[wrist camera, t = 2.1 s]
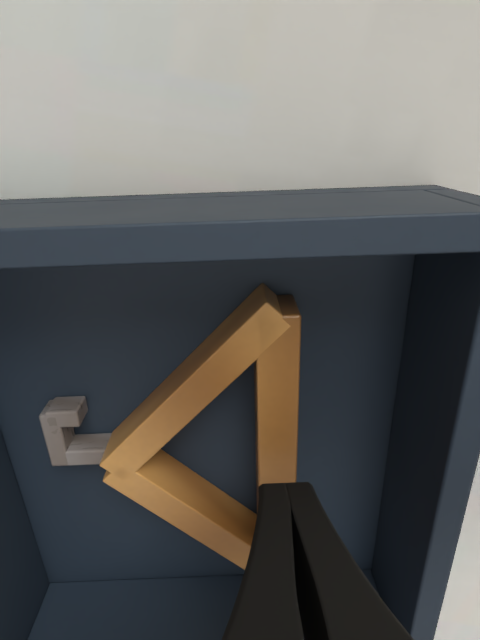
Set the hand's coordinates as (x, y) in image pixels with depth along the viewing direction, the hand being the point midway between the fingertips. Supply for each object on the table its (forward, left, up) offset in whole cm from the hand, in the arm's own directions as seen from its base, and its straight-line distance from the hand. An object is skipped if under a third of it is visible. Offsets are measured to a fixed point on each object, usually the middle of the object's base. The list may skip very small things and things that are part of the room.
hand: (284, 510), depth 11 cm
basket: (-3, 0, -4) cm, 5 cm away
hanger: (-3, 0, -3) cm, 5 cm away
